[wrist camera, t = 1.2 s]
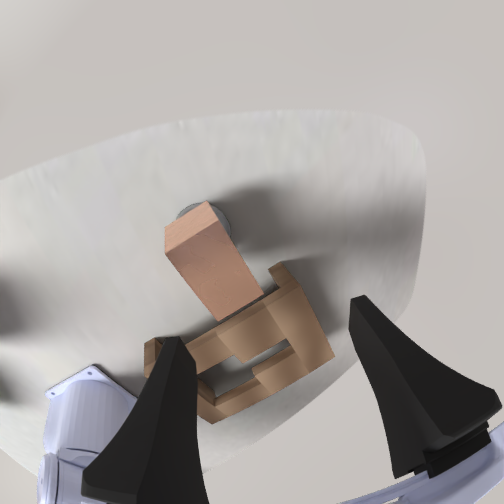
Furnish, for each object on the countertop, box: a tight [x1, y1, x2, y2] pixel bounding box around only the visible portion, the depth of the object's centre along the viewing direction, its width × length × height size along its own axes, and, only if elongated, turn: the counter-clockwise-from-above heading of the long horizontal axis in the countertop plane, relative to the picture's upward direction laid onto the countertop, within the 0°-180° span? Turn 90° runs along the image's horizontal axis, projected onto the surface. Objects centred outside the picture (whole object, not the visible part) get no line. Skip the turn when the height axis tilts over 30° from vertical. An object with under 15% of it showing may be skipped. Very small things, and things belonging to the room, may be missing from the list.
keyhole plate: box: [144, 262, 335, 424], centre depth 24 cm, size 14×10×4 cm
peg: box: [165, 201, 264, 321], centre depth 17 cm, size 4×5×7 cm
